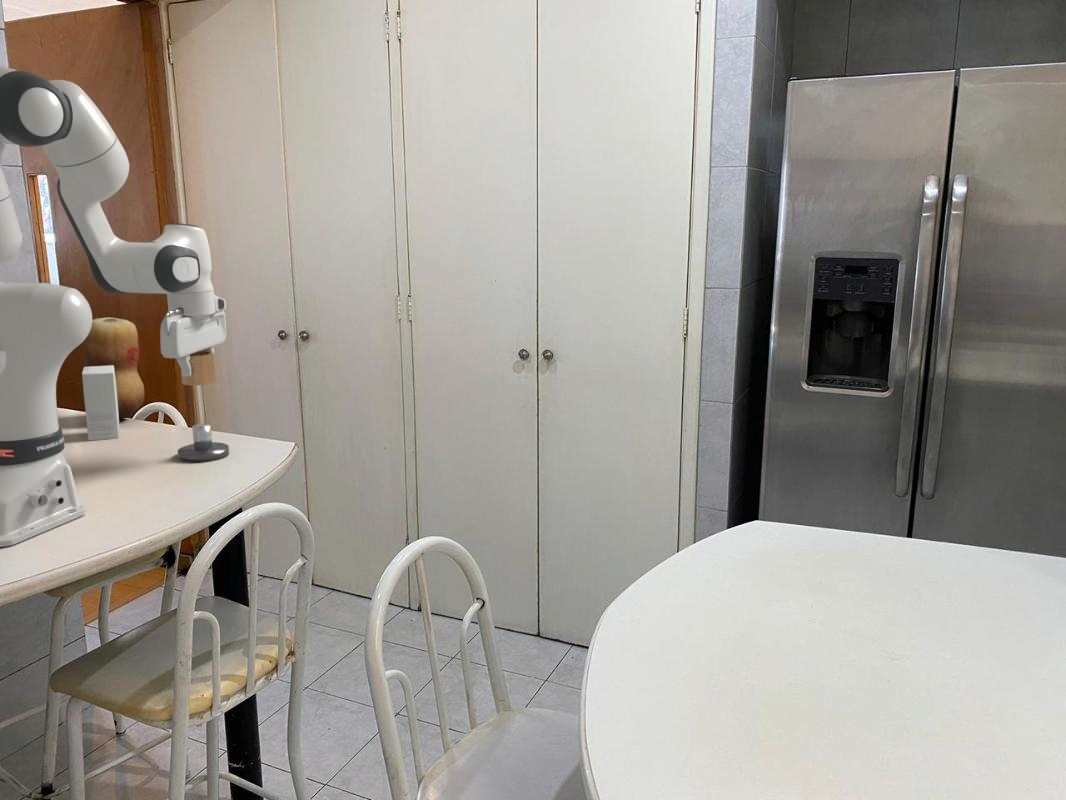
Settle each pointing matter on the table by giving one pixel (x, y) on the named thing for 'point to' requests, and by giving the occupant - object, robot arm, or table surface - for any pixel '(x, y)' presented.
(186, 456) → the duct stub
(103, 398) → the skincare box
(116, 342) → the butternut squash
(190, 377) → the sleeve
